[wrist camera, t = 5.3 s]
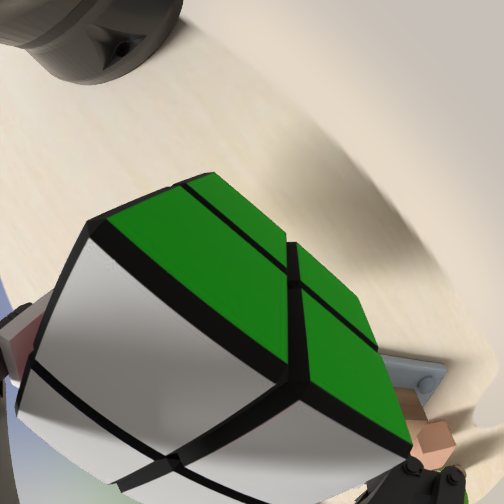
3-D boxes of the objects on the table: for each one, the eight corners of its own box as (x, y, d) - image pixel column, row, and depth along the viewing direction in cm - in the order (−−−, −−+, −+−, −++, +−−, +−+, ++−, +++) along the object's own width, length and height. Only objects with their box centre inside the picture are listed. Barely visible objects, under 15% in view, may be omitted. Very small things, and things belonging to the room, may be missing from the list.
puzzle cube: (112, 302, 17) (9, 414, 8) (210, 166, 14) (83, 208, 5) (239, 397, 19) (212, 535, 9) (360, 297, 16) (421, 456, 6)
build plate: (291, 335, 28) (291, 347, 26) (443, 363, 28) (450, 374, 26) (246, 445, 34) (245, 457, 32) (373, 460, 33) (375, 470, 31)
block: (412, 425, 31) (422, 453, 26) (444, 419, 31) (456, 445, 26) (402, 448, 32) (409, 474, 28) (432, 442, 32) (442, 467, 27)
